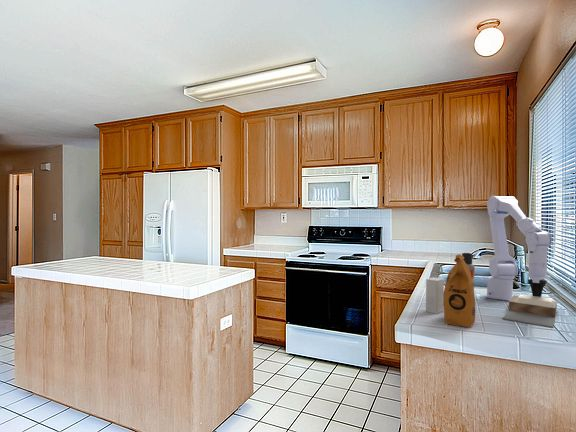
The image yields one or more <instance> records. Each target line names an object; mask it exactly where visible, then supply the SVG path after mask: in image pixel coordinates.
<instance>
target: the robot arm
mask: <svg viewBox="0 0 576 432" xmlns="http://www.w3.org/2000/svg"><path fill="white" fill-rule="evenodd" d="M486 206H487V207H486V208H487V216H489V225H490V231H491V238H492V245H493V251H494V255H493V256H492V257H491V258H490V259H489V265H488V272H489V274H490V275H491V276H488V277H487V282H486V283H487V284H486V298H487V299H488V298H489V299H494V300H503V301H508V302H509V301H510V300H511V298H512V297H513V293H514V292H513V290H514V289H513V287H514V279H515V277H516V276H517V275H518V273H519V268H518V265H517V263H516V259H515V258H514V257H512V256H511V255H510V254H509V247H508V239H507V232H506V226H505V218H506V217H508V216H509V215H510V217H512V218H513V219H514V220H515V222H517V224H516V225H517V228H518V230H519V231H520V232H521V233H522V234H523V236H524V237H525V243H526V245H527V251H528V274H527V277H528V278H531V279H527V283H528V284H529V287H530V289H531V293H532V294H531V296H537V297H542V294H543V292H544V291H543V290H544V288H545V286H546V284H547V282H548V281H547V279H551V275H548V272H547V271H548V247H549V246H551V245H552V241H553V238H552V235H551V233H550V232H548V231H544V229H543V230H542V229H541V227H539V226H538V225H537V223H536V222H535V220H534V219H533V218H530V217H527V216H526V215H525V213H524V212H523V211H522V209H521V208H520V207H519V201H518V200H517V199H516V197H515V196H511V195H510V196H501V195H500V196H498V195H497V196H496V195H491V196H490V197H489V198H488V200H487V202H486ZM545 279H546V280H545Z"/></svg>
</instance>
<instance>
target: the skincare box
mask: <svg viewBox="0 0 576 432" xmlns="http://www.w3.org/2000/svg"><path fill="white" fill-rule="evenodd" d="M425 280H426V281H425V312H427V313H431V314H436V315H437V314H440V313H442V312H444V304H443V296H444V289H445V279H444V278H441V277H429V278H426V279H425Z"/></svg>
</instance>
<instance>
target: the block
mask: <svg viewBox="0 0 576 432" xmlns="http://www.w3.org/2000/svg"><path fill="white" fill-rule="evenodd" d="M518 296H519V297H518V303H523V304H530V305H537V306H543V307H550V308H551V307H552V301H553V298H552V297H551V298H550V297H544V296H543V297H542V296H541V297H537V296H532V295H529V294H519V295H518Z"/></svg>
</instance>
